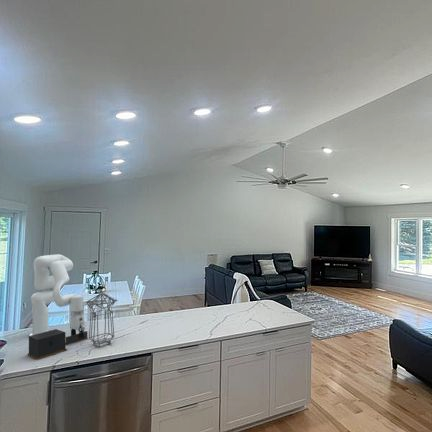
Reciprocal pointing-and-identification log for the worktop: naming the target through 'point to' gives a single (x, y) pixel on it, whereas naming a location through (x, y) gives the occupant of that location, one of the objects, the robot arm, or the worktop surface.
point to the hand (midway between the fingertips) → (77, 337)
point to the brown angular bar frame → (75, 338)
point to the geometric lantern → (101, 314)
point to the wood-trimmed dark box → (46, 344)
